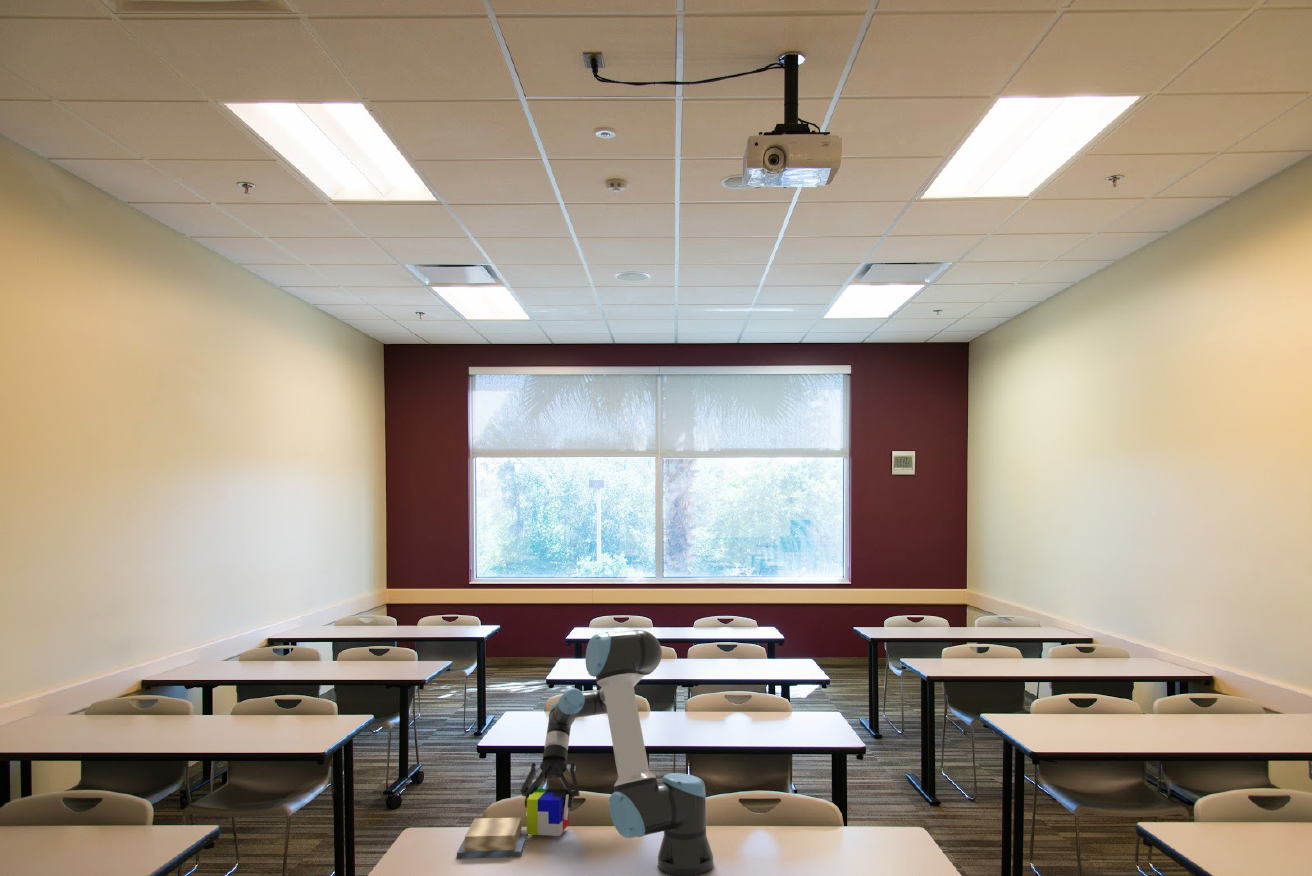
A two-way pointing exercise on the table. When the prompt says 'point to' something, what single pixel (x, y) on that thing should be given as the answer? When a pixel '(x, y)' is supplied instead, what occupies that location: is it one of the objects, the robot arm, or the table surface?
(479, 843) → the foundation block
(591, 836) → the table surface
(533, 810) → the puzzle toy
